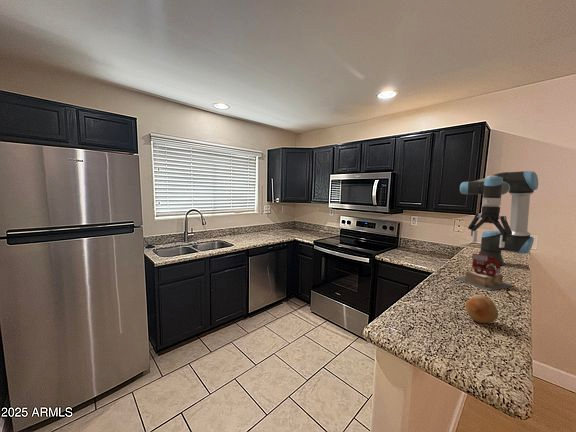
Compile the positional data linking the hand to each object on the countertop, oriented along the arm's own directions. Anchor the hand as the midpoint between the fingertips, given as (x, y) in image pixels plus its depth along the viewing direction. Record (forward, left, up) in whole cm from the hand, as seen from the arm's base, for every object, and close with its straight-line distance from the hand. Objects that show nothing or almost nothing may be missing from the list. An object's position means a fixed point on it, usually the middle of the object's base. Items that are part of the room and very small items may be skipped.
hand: (487, 244), depth 132 cm
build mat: (-2, -1, -22) cm, 22 cm away
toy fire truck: (0, 0, -16) cm, 16 cm away
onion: (+45, +27, -22) cm, 57 cm away
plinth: (0, 0, -22) cm, 22 cm away
